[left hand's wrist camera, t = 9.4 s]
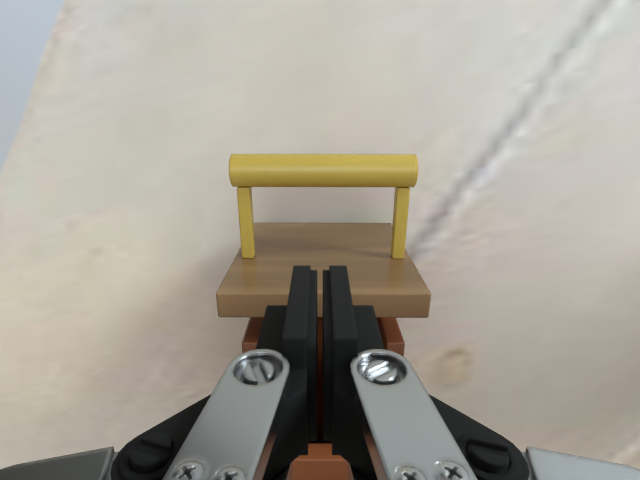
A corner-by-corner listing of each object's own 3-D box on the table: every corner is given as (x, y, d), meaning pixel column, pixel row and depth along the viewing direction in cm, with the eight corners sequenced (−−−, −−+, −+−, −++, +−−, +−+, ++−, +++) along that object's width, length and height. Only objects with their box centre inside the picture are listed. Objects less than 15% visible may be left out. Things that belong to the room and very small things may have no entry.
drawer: (248, 141, 23) (202, 168, 14) (396, 141, 23) (446, 168, 14) (266, 437, 31) (244, 576, 22) (376, 437, 31) (399, 576, 22)
